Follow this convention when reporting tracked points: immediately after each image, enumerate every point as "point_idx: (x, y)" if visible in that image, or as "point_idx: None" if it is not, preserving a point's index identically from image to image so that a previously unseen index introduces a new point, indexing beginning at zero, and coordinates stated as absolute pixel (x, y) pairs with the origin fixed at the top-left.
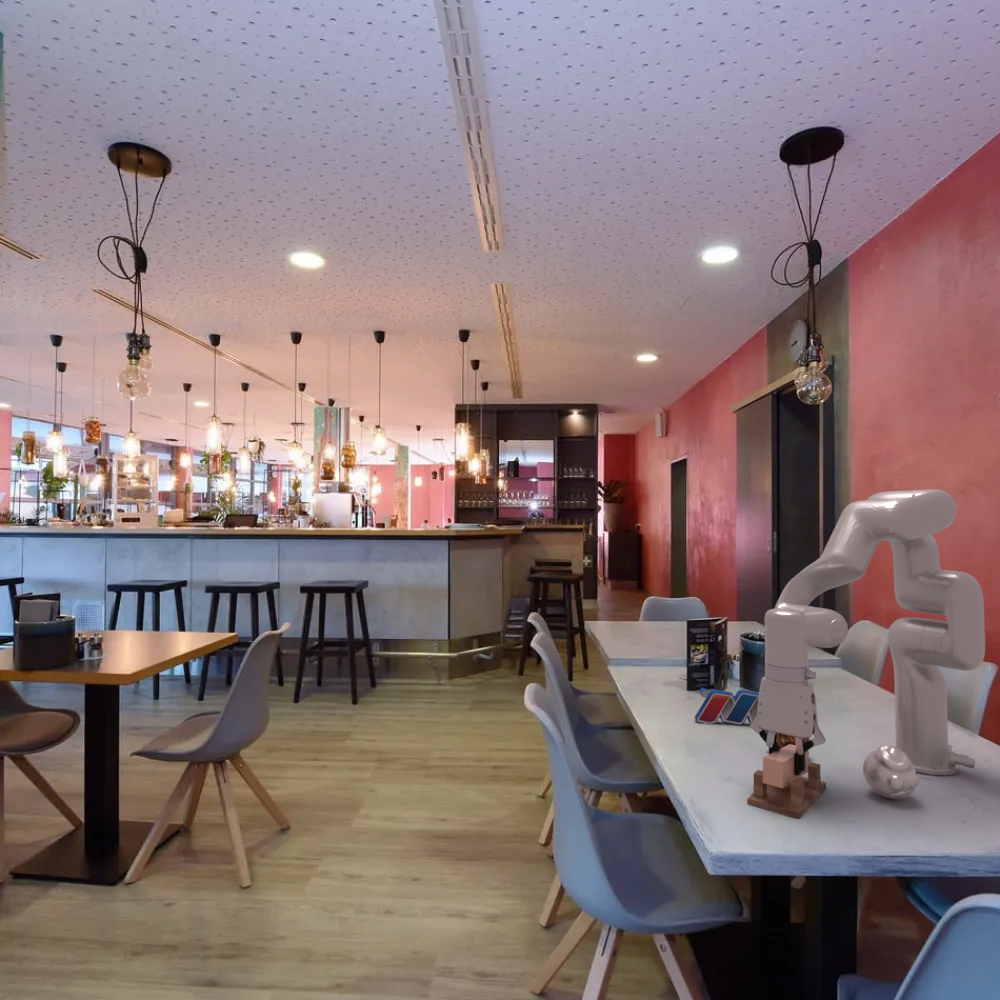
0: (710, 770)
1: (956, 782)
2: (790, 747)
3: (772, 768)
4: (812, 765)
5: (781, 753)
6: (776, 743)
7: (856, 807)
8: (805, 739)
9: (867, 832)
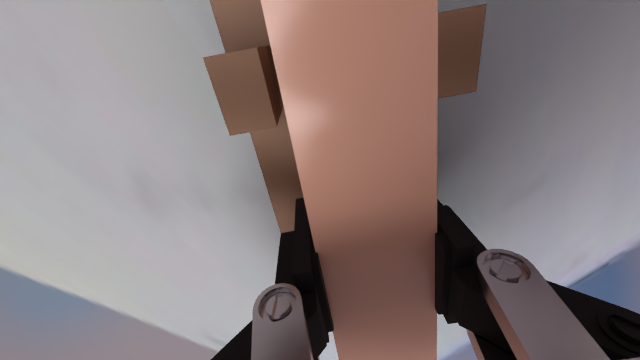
0: (55, 180)
1: None
2: (328, 122)
3: None
4: (446, 71)
5: (369, 320)
6: (318, 325)
7: (552, 74)
8: (584, 349)
9: (569, 212)
